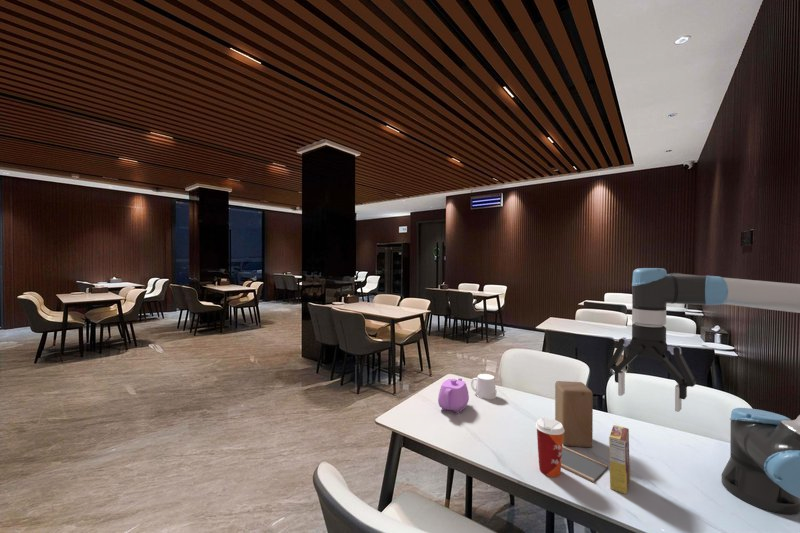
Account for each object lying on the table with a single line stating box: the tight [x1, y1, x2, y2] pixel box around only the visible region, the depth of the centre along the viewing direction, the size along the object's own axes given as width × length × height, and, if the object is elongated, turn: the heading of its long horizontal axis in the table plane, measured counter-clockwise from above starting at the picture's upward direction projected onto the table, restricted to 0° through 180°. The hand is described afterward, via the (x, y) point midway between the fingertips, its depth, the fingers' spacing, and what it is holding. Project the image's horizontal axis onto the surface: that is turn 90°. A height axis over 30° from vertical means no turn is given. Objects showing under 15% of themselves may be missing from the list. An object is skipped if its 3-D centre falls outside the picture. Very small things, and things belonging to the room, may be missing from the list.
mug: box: [470, 373, 498, 400], centre depth 161 cm, size 12×9×8 cm
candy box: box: [608, 424, 631, 495], centre depth 97 cm, size 9×4×15 cm, turn 140°
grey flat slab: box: [561, 445, 609, 483], centre depth 108 cm, size 16×11×1 cm
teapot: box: [437, 377, 470, 414], centre depth 148 cm, size 20×12×13 cm, turn 151°
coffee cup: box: [535, 417, 565, 478], centre depth 104 cm, size 8×8×15 cm
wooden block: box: [554, 380, 594, 448], centre depth 121 cm, size 10×10×20 cm
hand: (648, 401), depth 92 cm, fingers open, 12 cm apart
